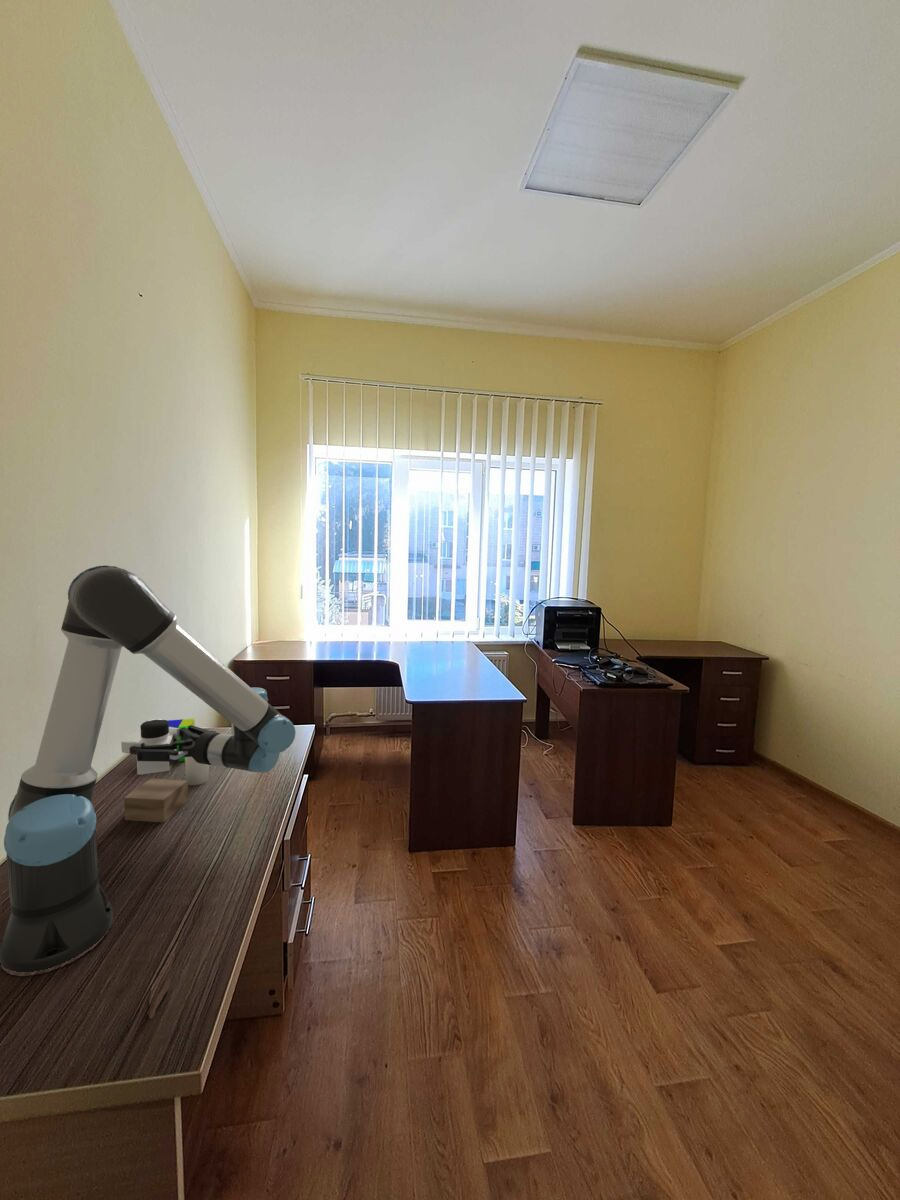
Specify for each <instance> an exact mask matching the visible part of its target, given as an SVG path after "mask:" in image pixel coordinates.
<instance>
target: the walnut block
mask: <svg viewBox="0 0 900 1200" xmlns="http://www.w3.org/2000/svg"><path fill="white" fill-rule="evenodd" d="M188 802H189V785H188V780H186V779H185V780H183V779H168V778H149V780H146V781H145V782H144V783H143V784H141V785H140V786H138V787H137V788H135V789H134V790H132V791H131V792H130V793H129V794H127V795H126V796H124V797H123V804H124V805H123V806H124V807H123V808H124V821H136V822H152V823H153V822H154V823H165V822H167V821H168V820H169V819H170V818H171V817H172V816H173V815H175V814H176V813H177V812H178V811H179V810H180V809H181V808H182V807H184V805H186V804H187V803H188Z"/></svg>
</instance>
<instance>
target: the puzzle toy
mask: <svg viewBox="0 0 900 1200" xmlns="http://www.w3.org/2000/svg"><path fill="white" fill-rule="evenodd" d="M166 720H167V719H166ZM167 721H168V722H169V727H174V728H179V729H181V728H183V727H185V728H188V726H190V725H193V726H196V725H195V718H185V719H184V718H183V719H170V720H169V719H168V720H167ZM176 741H185V740H181V736H180V738H179V739H174V742H176ZM177 751H179V745H177ZM183 761H184V762H185V757H183V756H182V757H180V758H179V762H183Z"/></svg>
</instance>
